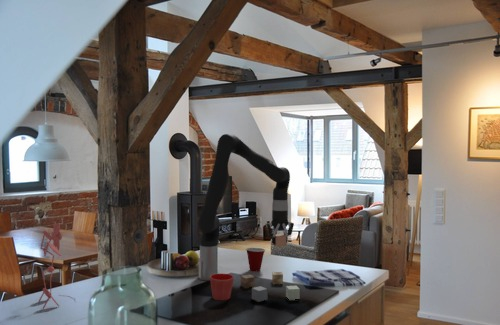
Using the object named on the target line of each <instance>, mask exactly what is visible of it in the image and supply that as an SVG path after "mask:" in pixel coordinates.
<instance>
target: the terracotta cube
mask: <svg viewBox="0 0 500 325" xmlns="http://www.w3.org/2000/svg"><path fill="white" fill-rule="evenodd" d="M273 246H274V247H276V248H277V247H278V248H280V247H287V243H286V236H285V235H284V233H276V235H275V245H273Z"/></svg>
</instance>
